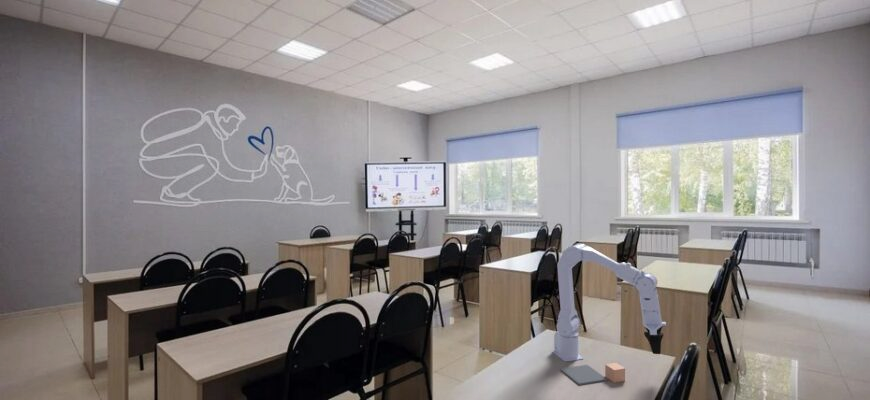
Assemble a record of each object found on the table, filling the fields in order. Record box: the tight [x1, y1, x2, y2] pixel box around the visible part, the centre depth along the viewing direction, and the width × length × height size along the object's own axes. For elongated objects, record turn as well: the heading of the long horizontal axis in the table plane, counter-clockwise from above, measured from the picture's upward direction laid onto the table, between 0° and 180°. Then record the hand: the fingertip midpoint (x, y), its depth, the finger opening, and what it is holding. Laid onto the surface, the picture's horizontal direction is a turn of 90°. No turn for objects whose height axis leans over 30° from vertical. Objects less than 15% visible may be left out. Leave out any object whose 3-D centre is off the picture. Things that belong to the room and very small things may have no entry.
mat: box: [560, 364, 608, 386], centre depth 140 cm, size 11×11×1 cm
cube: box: [604, 362, 626, 383], centre depth 137 cm, size 4×4×4 cm
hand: (656, 349), depth 136 cm, fingers open, 7 cm apart
